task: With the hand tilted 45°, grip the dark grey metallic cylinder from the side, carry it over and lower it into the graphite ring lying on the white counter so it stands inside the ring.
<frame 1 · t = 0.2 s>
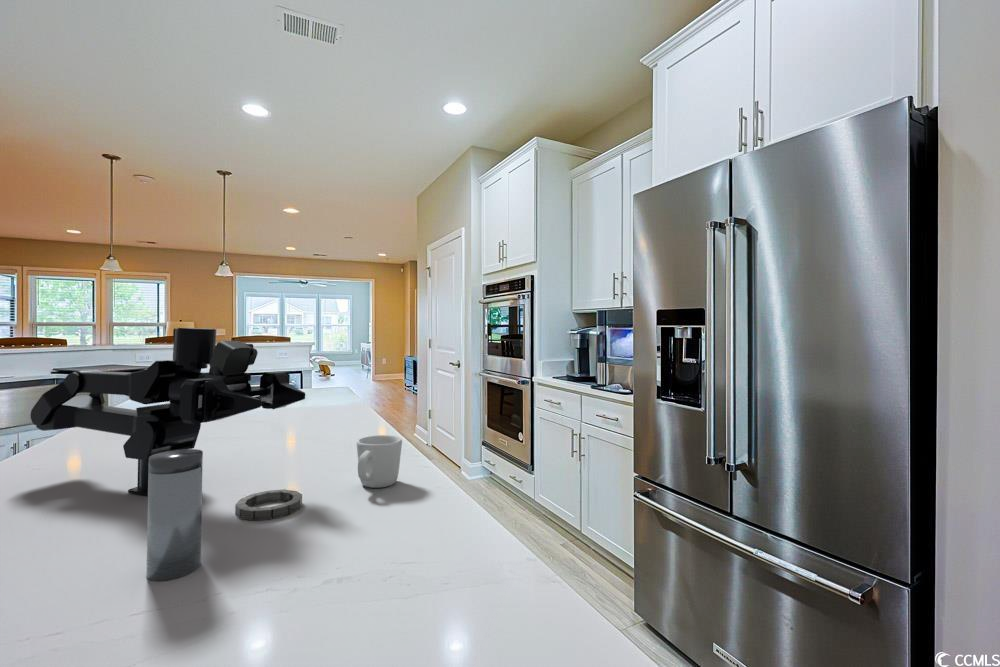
hand: (283, 399, 70), 17 cm above the countertop, tool horizontal, fingers open, 9 cm apart
ring: (269, 508, 70), on the countertop
dark grey metallic cylinder: (174, 569, 51), on the countertop
cup: (375, 487, 81), on the countertop
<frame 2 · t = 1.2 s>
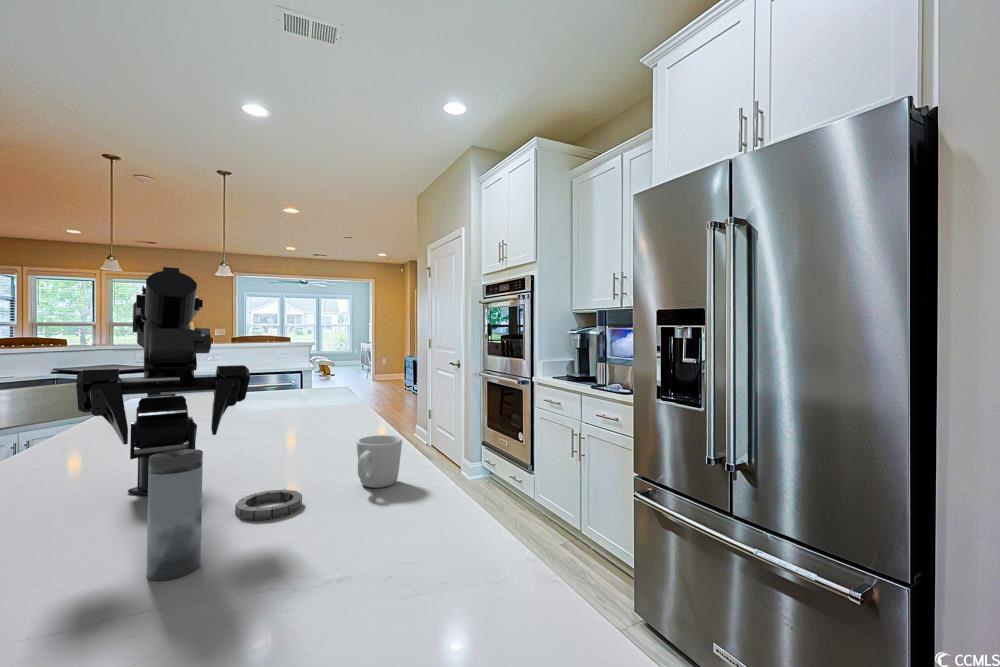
hand: (172, 437, 58), 13 cm above the countertop, tool tilted 45°, fingers open, 9 cm apart
nothing on the countertop moved.
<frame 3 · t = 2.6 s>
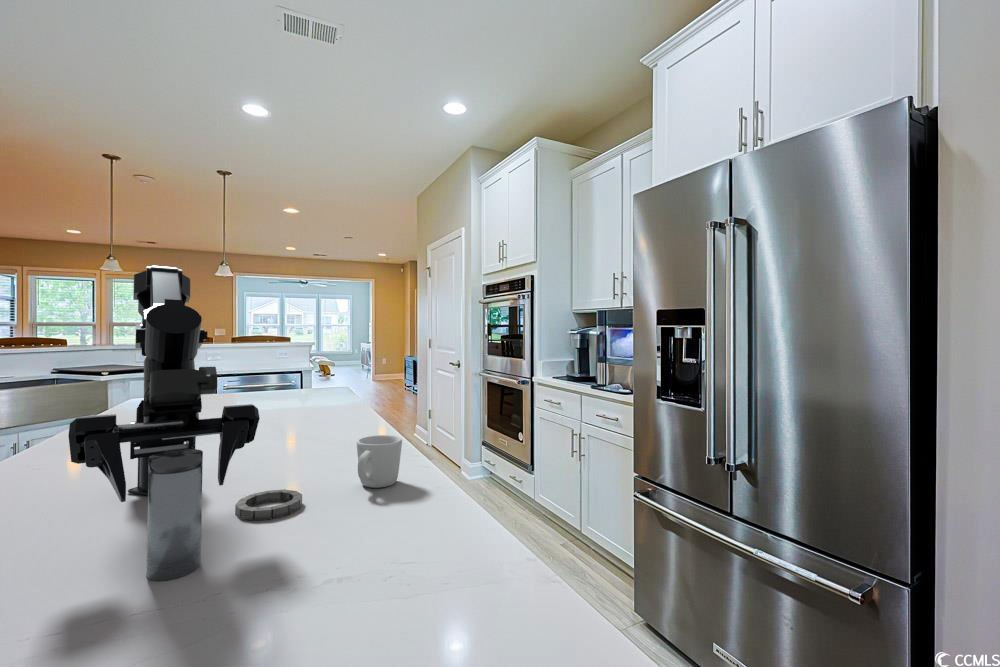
hand: (175, 491, 52), 9 cm above the countertop, tool tilted 45°, fingers open, 9 cm apart
nothing on the countertop moved.
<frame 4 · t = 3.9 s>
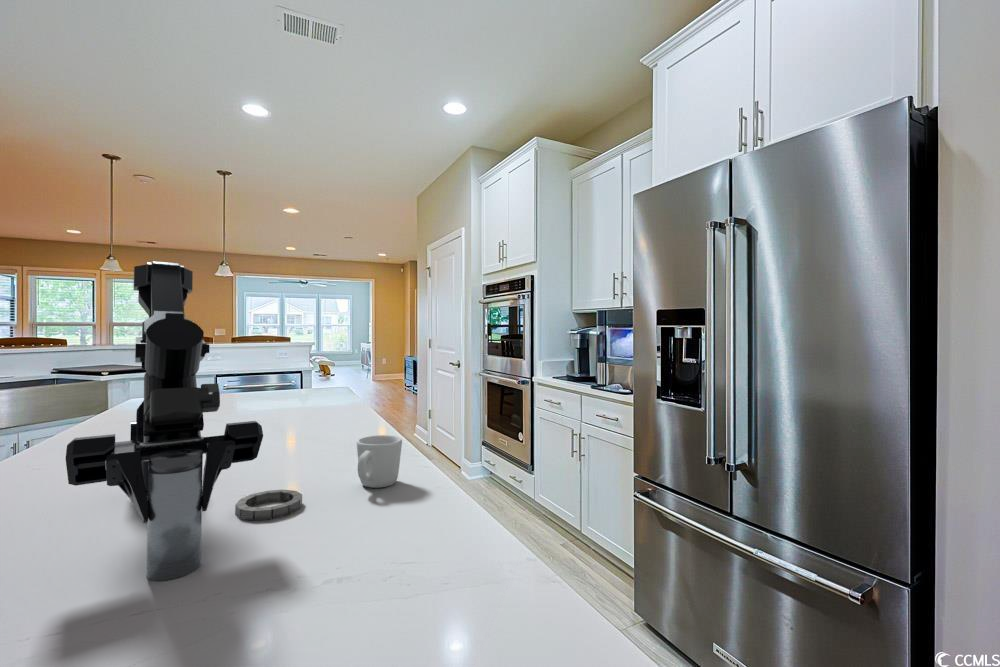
hand: (176, 514, 50), 7 cm above the countertop, tool tilted 45°, fingers closed on dark grey metallic cylinder, 5 cm apart
dark grey metallic cylinder: (174, 569, 51), on the countertop, touching gripper
everything else where it was.
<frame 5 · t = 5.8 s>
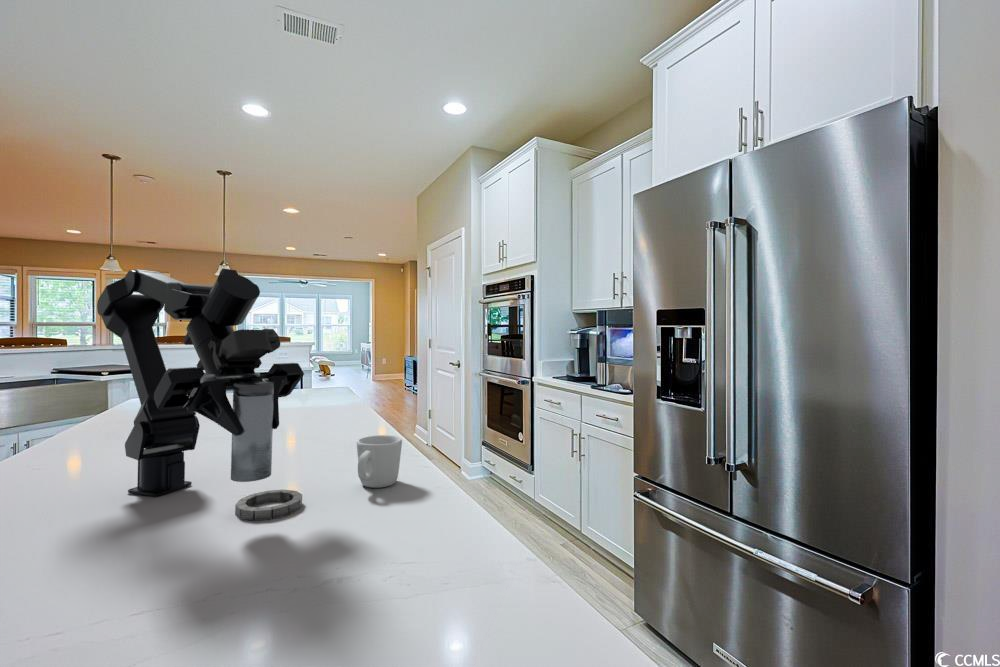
hand: (258, 430, 63), 13 cm above the countertop, tool tilted 45°, fingers closed on dark grey metallic cylinder, 5 cm apart
dark grey metallic cylinder: (251, 476, 64), point 7 cm above the countertop, touching gripper
everything else where it was.
when the fingers open (8 cm above the countertop, at t = 7.9 s): dark grey metallic cylinder drops 2 cm, resting in ring.
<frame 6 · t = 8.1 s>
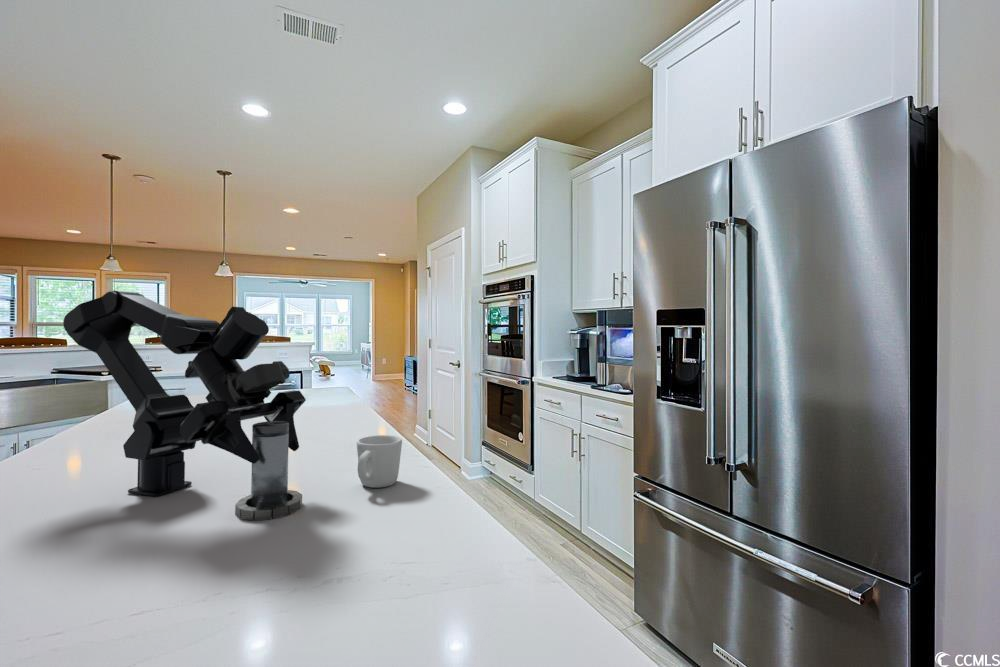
hand: (277, 455, 69), 8 cm above the countertop, tool tilted 45°, fingers open, 7 cm apart
dark grey metallic cylinder: (269, 508, 70), resting in ring
everything else where it was.
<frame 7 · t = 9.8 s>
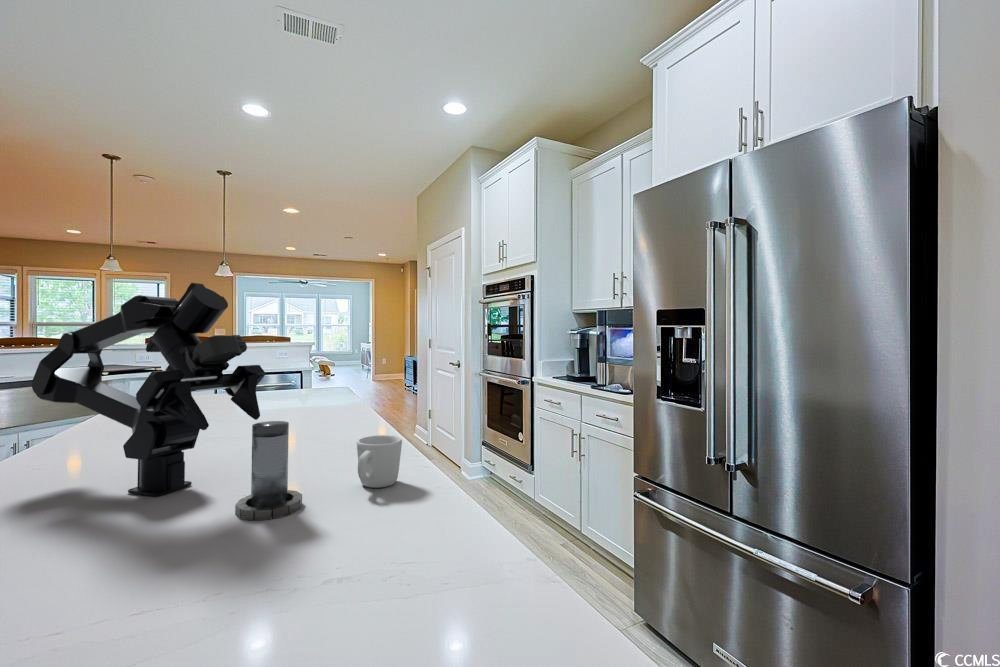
hand: (233, 422, 72), 13 cm above the countertop, tool tilted 45°, fingers open, 9 cm apart
nothing on the countertop moved.
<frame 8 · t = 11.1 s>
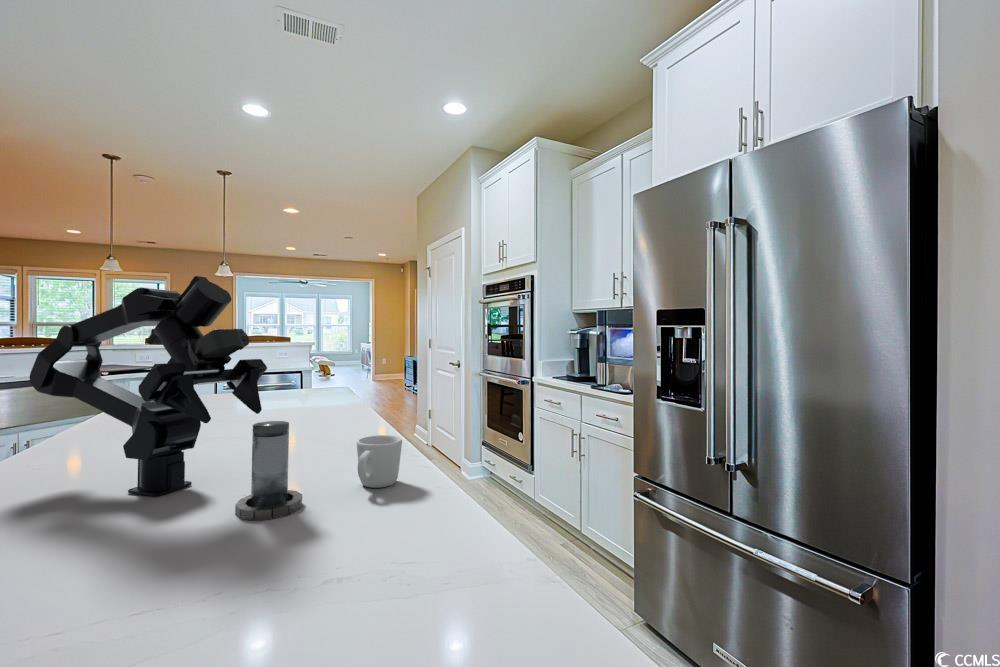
hand: (235, 416, 73), 14 cm above the countertop, tool tilted 45°, fingers open, 9 cm apart
nothing on the countertop moved.
at the end: dark grey metallic cylinder 0.1 cm off-centre on the ring, point 0.0 cm above the ring's base; dark grey metallic cylinder tilted 0°; the gripper is holding nothing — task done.
